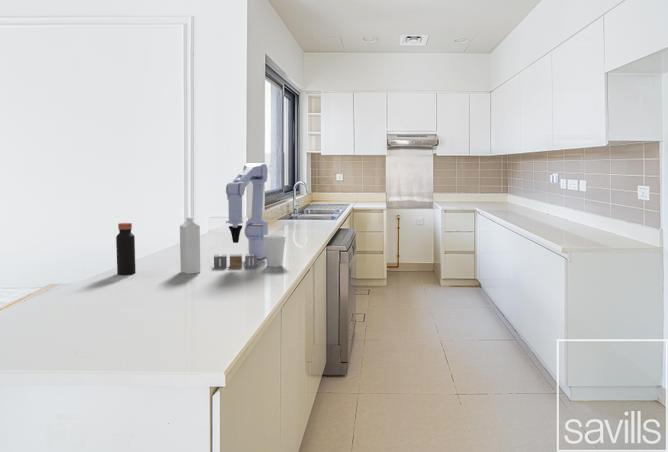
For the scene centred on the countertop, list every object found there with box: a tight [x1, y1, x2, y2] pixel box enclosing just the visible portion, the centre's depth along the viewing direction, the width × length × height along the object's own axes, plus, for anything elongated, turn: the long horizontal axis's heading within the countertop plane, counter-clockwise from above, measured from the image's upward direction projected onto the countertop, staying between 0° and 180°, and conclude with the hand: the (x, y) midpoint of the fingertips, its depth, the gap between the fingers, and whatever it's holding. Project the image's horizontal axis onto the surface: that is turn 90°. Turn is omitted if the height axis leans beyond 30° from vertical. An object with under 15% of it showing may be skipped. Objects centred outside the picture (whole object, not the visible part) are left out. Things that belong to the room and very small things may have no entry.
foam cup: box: [264, 234, 286, 268], centre depth 243 cm, size 10×9×13 cm
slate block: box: [244, 253, 258, 269], centre depth 242 cm, size 5×5×5 cm
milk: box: [179, 217, 201, 275], centre depth 226 cm, size 6×6×22 cm
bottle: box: [115, 222, 136, 276], centre depth 222 cm, size 7×7×20 cm
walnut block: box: [229, 253, 243, 269], centre depth 241 cm, size 5×5×5 cm
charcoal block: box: [213, 254, 228, 269], centre depth 240 cm, size 5×5×5 cm
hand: (235, 242), depth 240 cm, fingers closed
